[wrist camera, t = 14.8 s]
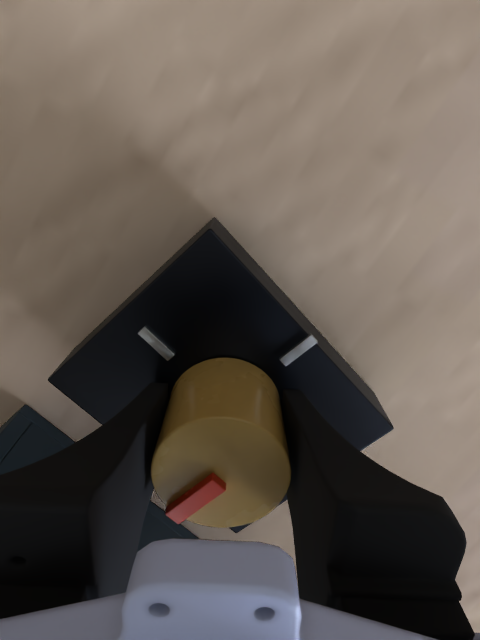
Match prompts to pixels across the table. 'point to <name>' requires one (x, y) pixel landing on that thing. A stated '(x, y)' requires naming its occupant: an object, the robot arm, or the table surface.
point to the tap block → (215, 340)
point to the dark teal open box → (45, 440)
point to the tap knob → (222, 446)
